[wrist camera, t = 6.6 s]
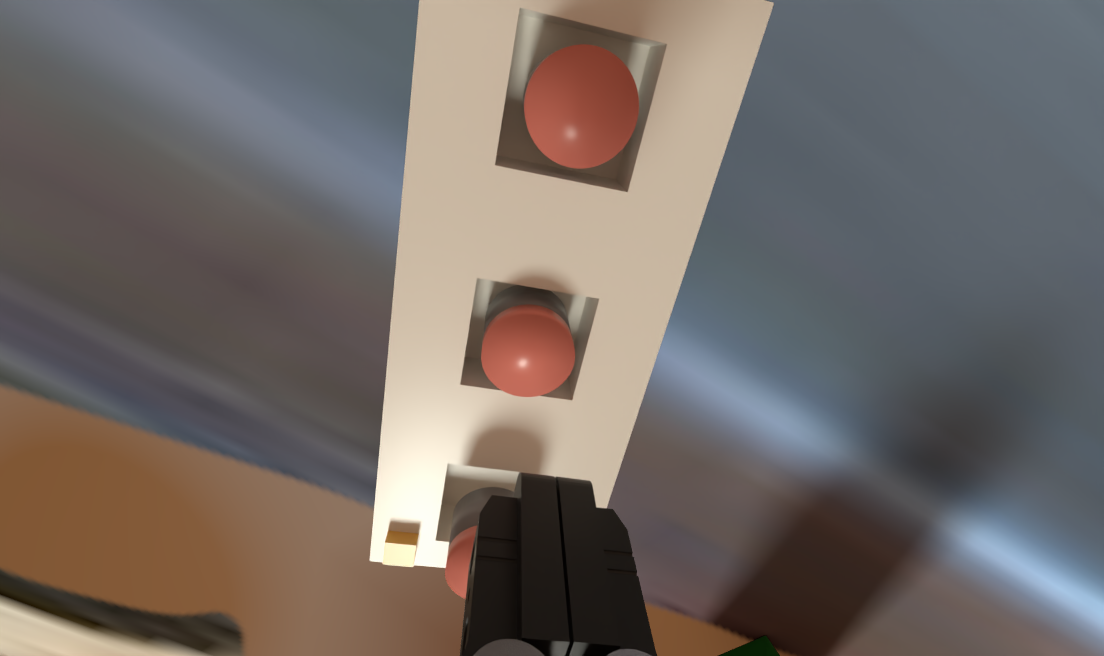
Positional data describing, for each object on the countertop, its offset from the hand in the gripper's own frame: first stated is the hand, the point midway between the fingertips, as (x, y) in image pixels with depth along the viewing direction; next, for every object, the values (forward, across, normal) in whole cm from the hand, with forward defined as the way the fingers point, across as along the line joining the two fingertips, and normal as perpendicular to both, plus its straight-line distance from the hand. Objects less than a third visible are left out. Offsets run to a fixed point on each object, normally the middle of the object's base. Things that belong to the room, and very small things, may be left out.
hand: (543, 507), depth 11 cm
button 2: (+9, 0, 0) cm, 9 cm away
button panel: (+12, 0, -2) cm, 12 cm away
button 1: (+9, 0, -8) cm, 12 cm away
